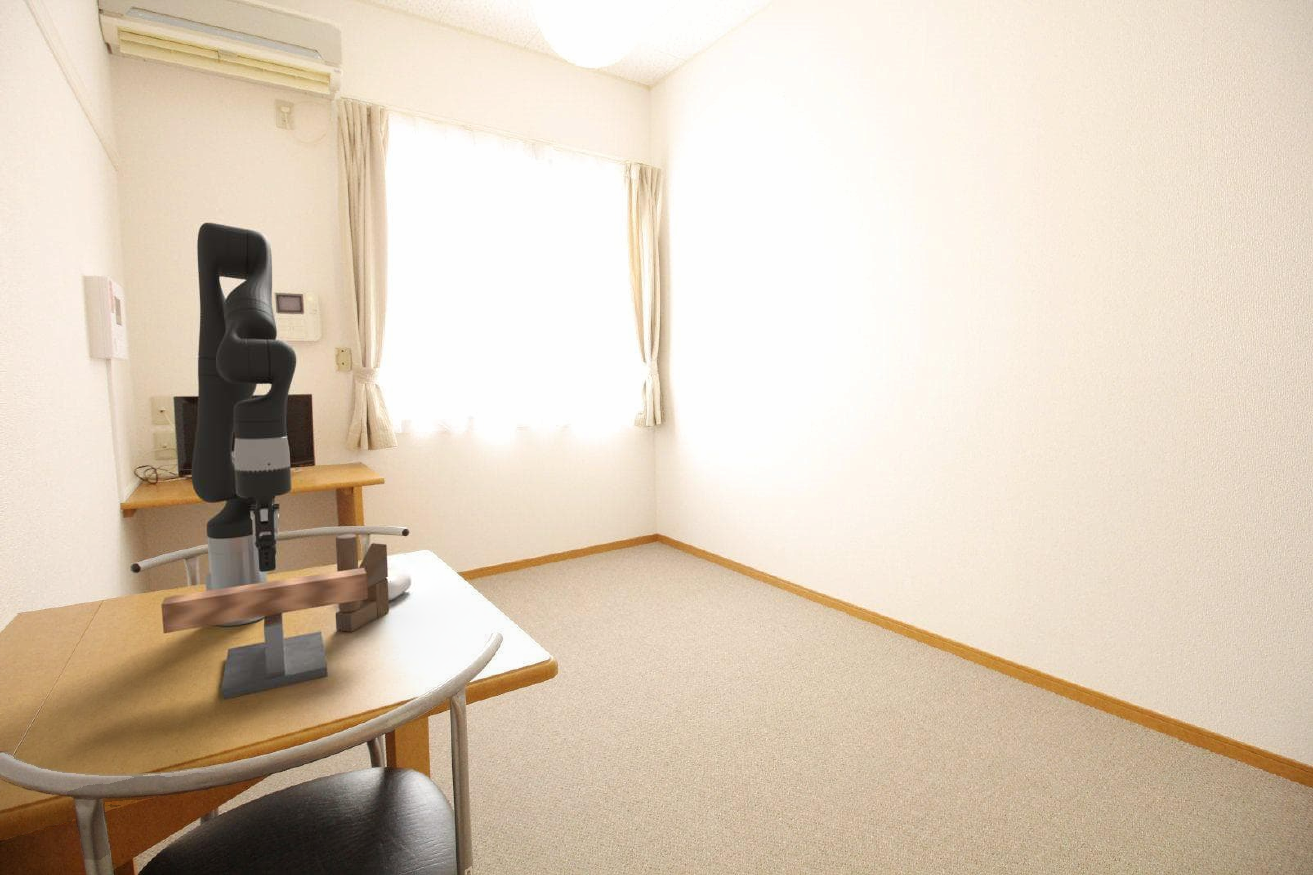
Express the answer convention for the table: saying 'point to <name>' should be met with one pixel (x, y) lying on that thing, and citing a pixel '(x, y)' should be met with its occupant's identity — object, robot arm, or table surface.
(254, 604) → the bar
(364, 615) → the brown wooden block stack
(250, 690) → the stand
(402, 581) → the earbud case
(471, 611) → the table surface
